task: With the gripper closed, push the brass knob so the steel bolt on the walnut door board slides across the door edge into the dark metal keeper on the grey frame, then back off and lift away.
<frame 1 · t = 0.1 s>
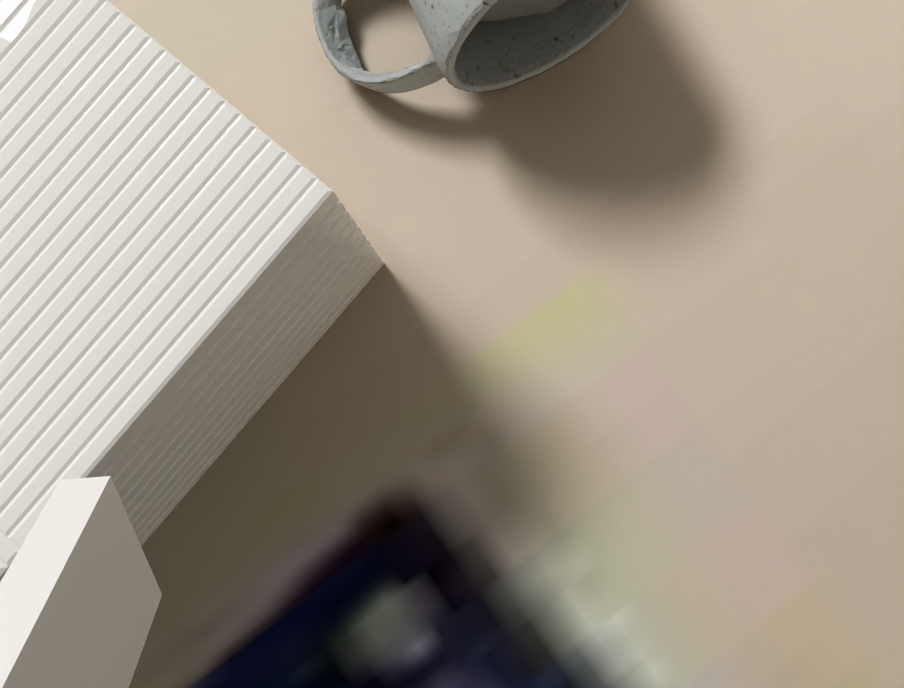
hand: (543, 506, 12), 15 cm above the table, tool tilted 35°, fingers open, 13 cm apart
ceramic mug: (464, 6, 28), on the table
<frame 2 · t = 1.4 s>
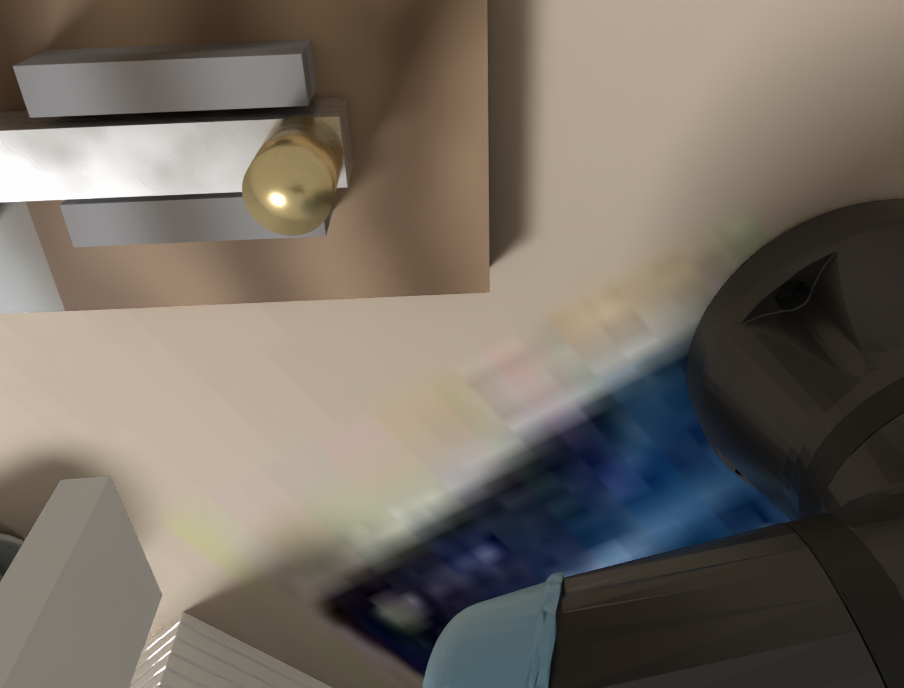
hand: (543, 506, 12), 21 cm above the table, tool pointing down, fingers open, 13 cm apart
lock board: (120, 123, 29), on the table
bolt: (156, 166, 24), point 5 cm above the table, slide at 0.0 cm
ceramic mug: (2, 578, 43), on the table
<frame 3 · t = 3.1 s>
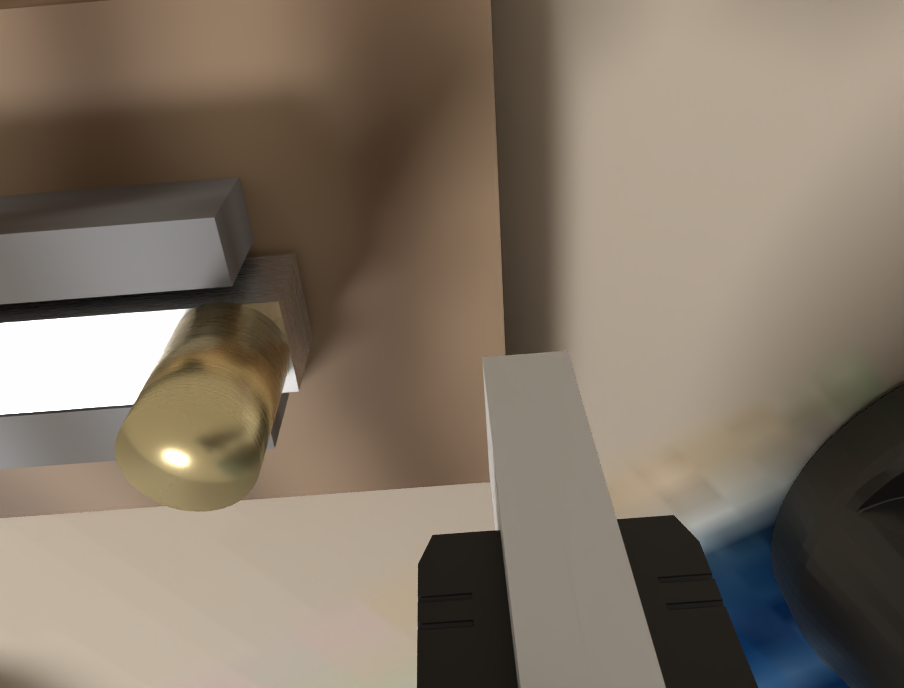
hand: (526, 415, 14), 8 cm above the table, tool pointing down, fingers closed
bolt: (11, 384, 16), point 5 cm above the table, slide at 0.0 cm
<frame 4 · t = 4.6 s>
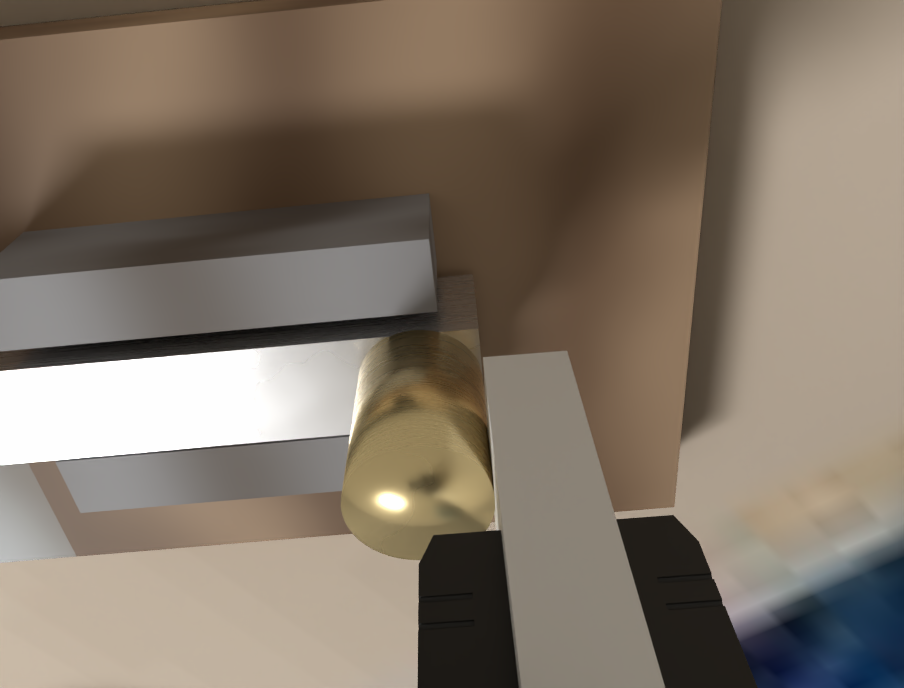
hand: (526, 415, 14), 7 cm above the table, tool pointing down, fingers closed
lock board: (141, 305, 20), on the table
bolt: (191, 420, 15), point 5 cm above the table, slide at 0.2 cm, touching gripper
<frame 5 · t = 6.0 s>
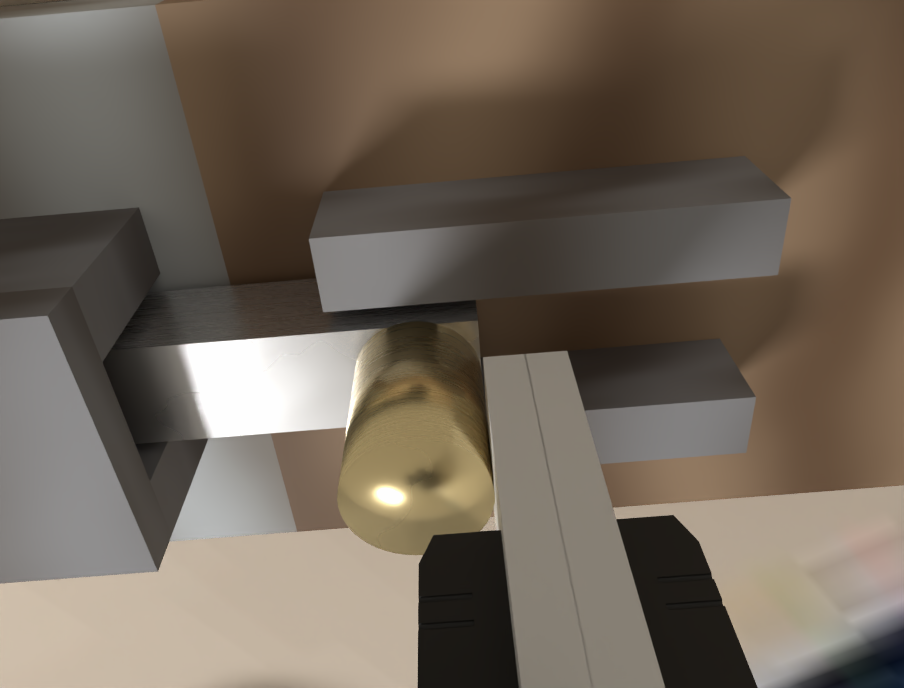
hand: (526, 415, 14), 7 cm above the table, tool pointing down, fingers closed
lock board: (391, 273, 19), on the table
bolt: (184, 411, 15), point 5 cm above the table, slide at 7.0 cm, touching gripper
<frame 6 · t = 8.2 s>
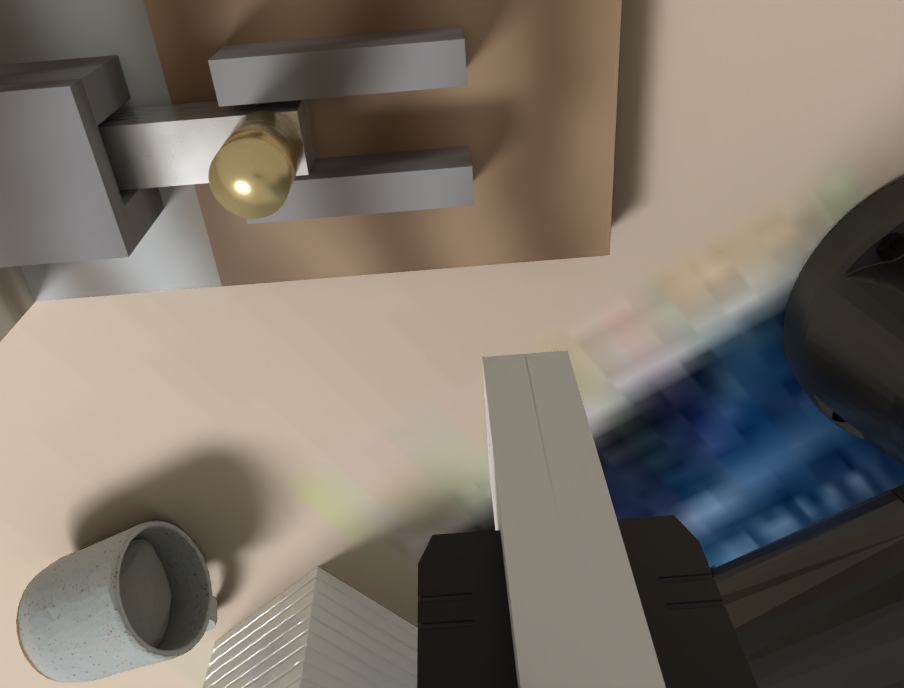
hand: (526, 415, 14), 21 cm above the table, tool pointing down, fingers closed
lock board: (275, 111, 31), on the table
bolt: (136, 162, 27), point 5 cm above the table, slide at 7.2 cm
ceramic mug: (154, 563, 47), on the table
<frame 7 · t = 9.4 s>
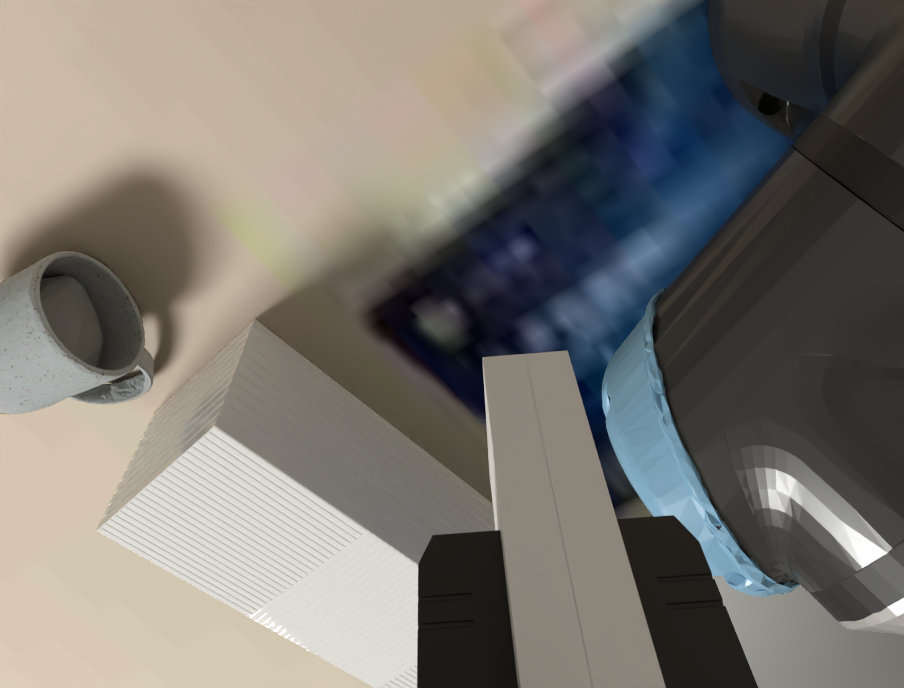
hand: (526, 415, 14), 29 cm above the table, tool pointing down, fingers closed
ceramic mug: (89, 318, 46), on the table
stack of papers: (380, 491, 55), on the table
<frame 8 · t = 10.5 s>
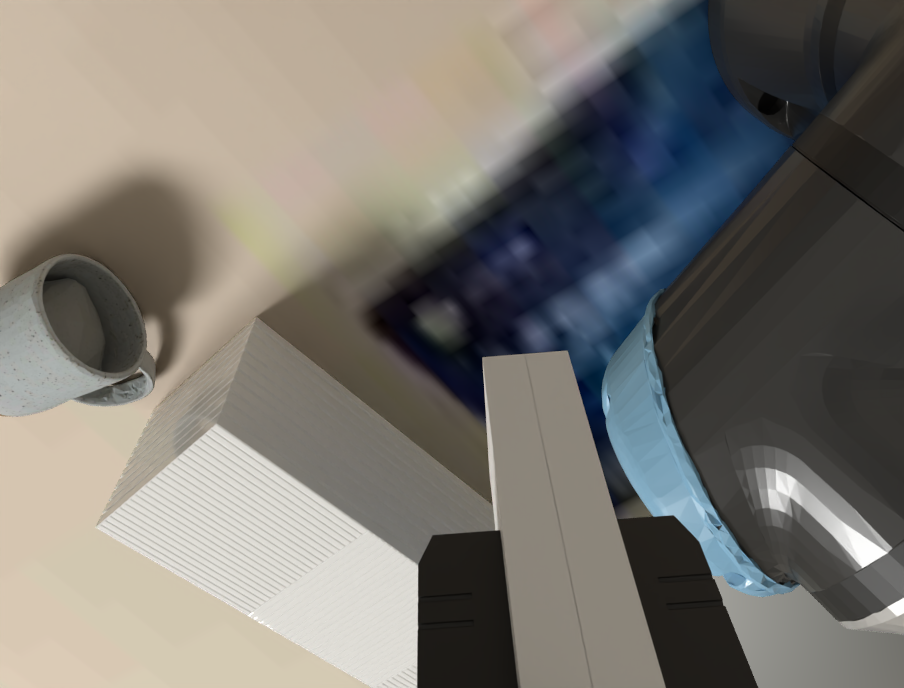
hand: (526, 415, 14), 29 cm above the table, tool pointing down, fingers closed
ceramic mug: (91, 320, 46), on the table
stack of papers: (379, 490, 55), on the table
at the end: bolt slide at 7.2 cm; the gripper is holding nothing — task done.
